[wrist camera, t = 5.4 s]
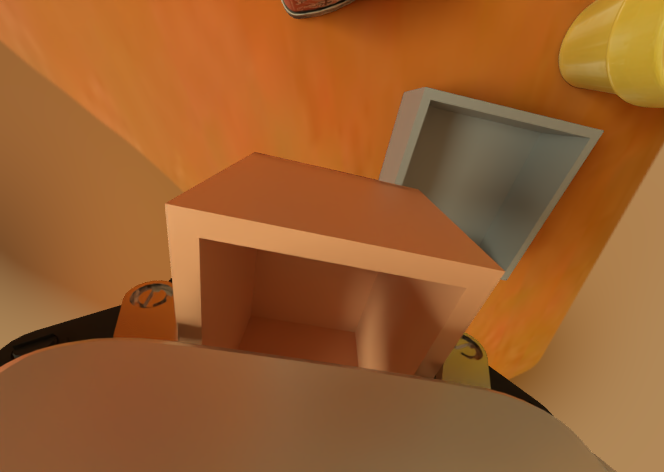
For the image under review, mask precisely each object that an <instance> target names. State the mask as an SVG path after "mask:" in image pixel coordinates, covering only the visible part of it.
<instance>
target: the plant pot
mask: <svg viewBox="0 0 664 472" xmlns="http://www.w3.org/2000/svg"><path fill="white" fill-rule="evenodd" d="M559 69H560V72H561V75H562V77H563V78H564V79H565V81H566V82H568V83H569V84H570V85H572V86H574V87H578V88H583V89H589V90H595V91H601V92H607V93H612V94H617V95H618V96H619V97H620V98H621V99H623V100H624V101H626V102H628V103H630V104H632V105H636V106H640V107H651V108H664V0H596V1H595V2H593V3H592V4H590V5H589V6H588V7H587V8H586V9H584V10H583V11H582V12H581V13H580V14H579V16H578V17H577V18H576V19H575V21H574V22H573V23H572V25H571V26H570V28H569V29H568V31H567V33H566V35H565V37H564V39H563V42H562V45H561V48H560V53H559Z"/></svg>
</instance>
